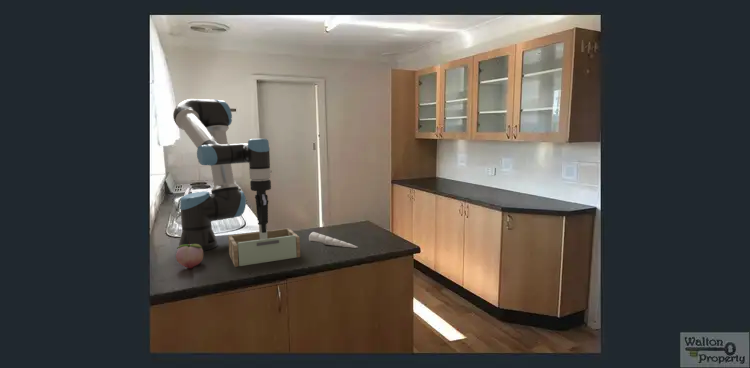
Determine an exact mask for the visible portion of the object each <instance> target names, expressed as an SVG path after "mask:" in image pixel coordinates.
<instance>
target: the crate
mask: <svg viewBox="0 0 750 368" xmlns="http://www.w3.org/2000/svg"><path fill="white" fill-rule="evenodd" d="M292 235H295V236H296V256H297V257H296V258H301V242H300V241H301V240H300V239H301V237H300V236H299V235H298V234H297V233H295V232H294V230H292V229H291V228H287V227H285V228H280V229H279V228H278V229H270V230H267V238H268V239H269V238H277V237H284V236H292ZM227 238H228V254H229V255H228V256H229V257H230V259H231V261H232V262H231V263H232V264H233V266H234V267H235V268H236V267H239V257H238V242H246V241H253V240H260V236H259V231H255V232H246V233H237V234H230V235H229V234H228V236H227Z"/></svg>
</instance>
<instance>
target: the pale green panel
mask: <svg viewBox="0 0 750 368" xmlns="http://www.w3.org/2000/svg"><path fill="white" fill-rule="evenodd" d="M294 258H295V259H296V258H298V257H297V256H296V236H295V235H292V236H284V237H277V238H269V239H261V240H253V241H246V242H238V267H243V266H249V265H257V264H263V263H268V262H274V261H275V262H276V261H283V260H288V259H294Z"/></svg>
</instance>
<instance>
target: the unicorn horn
mask: <svg viewBox="0 0 750 368" xmlns="http://www.w3.org/2000/svg"><path fill="white" fill-rule="evenodd" d="M308 240H309V241H308V242H318V243H321V244H323V245H324V246H325V245H326V246H335V247H343V248H353V249H354V248H355V249H357V248H359V247H358V246H357V245H354V244H352V243H349V242H346V241H344V240H339V239H338V238H333V237H331V236H328V235H324V234H322V233H318V232H315V231H312V232H311V233H310V234H309V235H308Z"/></svg>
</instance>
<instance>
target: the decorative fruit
mask: <svg viewBox="0 0 750 368" xmlns="http://www.w3.org/2000/svg"><path fill="white" fill-rule="evenodd" d="M176 250H177V251H176V255H175V258H176V259H175V260H176V261H177V263H179V265H181V266H182V267H184V268H187V269H193V268H194V267H197V266H199V264H200V263H201V262H202V261H203V260H204V251H203V250H202V247H201V246H200V245H199V244H190V242H189V244H184V245H181V246H179V245H178V247H176Z"/></svg>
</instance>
